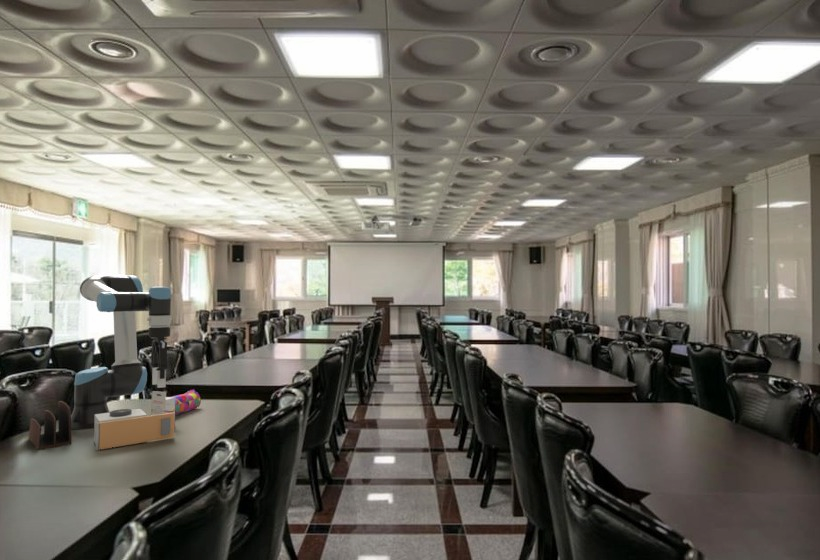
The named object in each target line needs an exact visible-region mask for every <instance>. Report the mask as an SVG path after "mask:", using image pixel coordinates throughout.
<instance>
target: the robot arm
mask: <svg viewBox="0 0 820 560" xmlns="http://www.w3.org/2000/svg"><path fill="white" fill-rule="evenodd" d="M171 290H172V289H171V287H168V286H152V287H149V290H148V292H147V291H145V292H144V288H143V283H142V282H141V279H140V278H139V277H138V276H136V275H130V274H129V275H128V274H95V275H92V276H88V277H87V278H85V279H83V280H82V282H81V284H80V287H79V292H80V294H81V296H82V297H83V298H84V299H86V300H88V301H91V302H95V303H96V308H97V310H98V312H102V313H113V330H114V331H113V334H114V337H113V338H114V360H115V361H114V362H113V363H112V364H111V369H109V368H108V367H106V366H100V367H99V366H98V367H93V368H88V369H84V370H80V371H79V372H76V374H75V377H74V383H73V385H74V394H73V395H74V399H73V400H74V406H73V407H74V408H73V410H72V413H71V430H83V429H84V430H85V429H94V420H95V414H102V413H110V412H111V411H110V409H109V407H108V398H113V397H114V398H115V397H122V396H123V397H124V396H129V395H131V396H132V395H135V394H140V393H142V392H143V390H144V389H145V388H146V385H147V381H148V372H147V371H148V370H147V368H146V366H142V361H140V360H139V359H138V347H137V346H138V344H137V326H136V325H137V323H136V322H137V321H136V320H137V319H136V312H148V318H147V319H146V321H147V322H148V326H149V328H148V337H149V338H154V340H152V341H151V357H150V358H151V362H150V365H151V367H152V369H151V370H152V371H151V372H152V373H151V375H152V376H151V377H152V379H151V385H152V386H154V385H156V386H157V389H158V388H159V389H160V388H166V386H167V385H166V384H167V380H166V379H167V378H166V377H167V369H168V367H169V366H168V342H167V341H165V338H167V337H171V327H170V326H171V322H172V321H171V318H172V317H171V307H172V306H171V305H172V303H171V302H172V301H171V300H172V299H171V298H172V294H171V292H172V291H171Z"/></svg>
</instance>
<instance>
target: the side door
mask: <svg viewBox="0 0 820 560" xmlns="http://www.w3.org/2000/svg"><path fill="white" fill-rule="evenodd" d="M174 437H175V426H174V412H173V413H166V414H159V415H151V414H150V415H147V416H144V417H137V418H130V419H122V420H115V421H108V422H101V423H96V444H95V451H100V449H101V450H106V448H107V449H113V448H118V446H119V447H125V446H130V444H131V445H137V444H141V443H142V442H143V443H147V442H152V441H159V440H164V439H171V438H174ZM136 443H137V444H136ZM124 445H125V446H124ZM112 447H113V448H112Z"/></svg>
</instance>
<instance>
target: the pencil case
mask: <svg viewBox="0 0 820 560" xmlns="http://www.w3.org/2000/svg"><path fill="white" fill-rule="evenodd" d="M200 395H201V394H199V392H197V391H196V390H195V389H190V390H188V391H187V392H185V393H183V394H177V395H173V396H171V397H172V398H175V416H178V415H181V414H183V412H184V413H186V411H187V412H189V410H190V411H193V410H195V408H196V409H197V407H198V408H199V407H200V406H201V403H202V402H201V396H200ZM192 409H193V410H192Z"/></svg>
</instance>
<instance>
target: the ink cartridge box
mask: <svg viewBox="0 0 820 560" xmlns="http://www.w3.org/2000/svg"><path fill="white" fill-rule="evenodd" d="M150 399H151V400H150V416H151V415H159V414H166V413H173V412H174V425H176V424H175V423H176V422H175V421H176V420H175V419H176V415H175V398H172V396H167V392H166V391H157V390H156V391H155V390H152V391H151V398H150Z"/></svg>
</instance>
